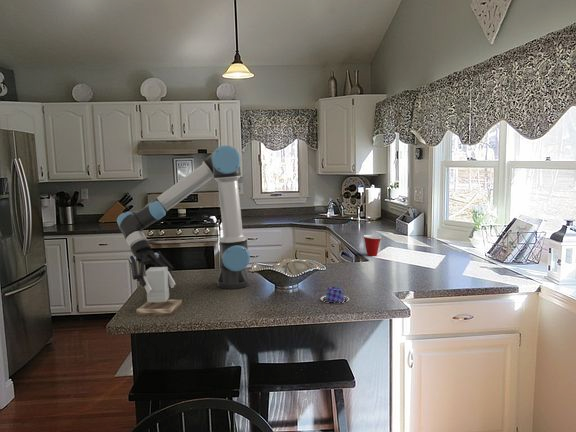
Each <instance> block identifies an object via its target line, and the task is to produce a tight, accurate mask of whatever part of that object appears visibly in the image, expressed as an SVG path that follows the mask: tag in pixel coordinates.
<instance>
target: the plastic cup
mask: <svg viewBox="0 0 576 432" xmlns="http://www.w3.org/2000/svg"><path fill="white" fill-rule="evenodd" d="M363 238H364V243H365V244H364V245H365V250H366V255H367V256H368V257H377V256H378V252H379V249H380V242H381V240H382V236H380V235H375V234H363Z"/></svg>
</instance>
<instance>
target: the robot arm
mask: <svg viewBox="0 0 576 432" xmlns="http://www.w3.org/2000/svg"><path fill="white" fill-rule="evenodd" d="M241 162H242V159H241V155H240V153H239V151H238V150H237V149H236V148H235V147H233V146H232V145H231V146H230V145H220V146H218V147H216V148H215V149H214V150H213V151H212V153H211V154H210V155H208V157H206V158H205V159H204V160H203V161H202V164H200V166H198V167H197V168H195V169H194V170H193V171H191V172H190V173H189V174H187V175H186V176H184V177H183V178H182V179H180V180H179V181H177V183H175V184H173V186H171V187H169V188H168V189H167V190H165V191H164V192H161V194H160V195H158V196H157V197H155V198H154V199H152V201H150V202H148V203H147V204H146V205H145V206H144V207H142V208H141V209H139V210H138V211H136V212H135V213H133V212H131V211H125V212H122V213H121V214H119V215H118V217H117V218H116V222H117V225H118V228H119V230H120V231H121V234H122V235H123V237H124V239H125V240H126V241H125V242H126V243H127V245H128V247H129V249H130V250H131V253H132V255H130V256H129V258H128V262H129V264H130V269H131V275H132V276H131V277H132V279H133V280H134V281H135V280H136V281H137V282H139V283H140V285H141V287H144V289H145V291H146V294H147V293H148V294H150V292H151V291H152V288H151V286H150V284H149V282H148V281H147V279H146V275H144V268H145V265H150V264H151V265H152V266H154V267H168V284H169V287H170V288H171V289H174V287H175V286H176V284H177V283H176V282H175V280H174V275H173V273H172V271H173V270H174V266H173V265H172V264H171V262H170V261H168V259H166V257H165V256H164V255H163V254H162V252H161V251H160V250H158V251H157V252H154V250H152V247H151V244H150V242H149V241H148V239H147V237H146V235H145V233H144V232H143V230H144V229H146V228H147V227H150V226H151V225H152V224H155V222H157V221H160V220H161V219H162V218H163V217H165V216H166V214H167V213H166V212H168V211H170V209H172V208H173V207H175V206H176V205H178V203H180V202H181V201H183V200H184V199H186V198H187V197H188V196H190V195H192V194H193V193H194V192H195V191H197V190H198V189H199V188H201V187H202V186H203V185H205V184H206V183H208V182H209V181H210V180H212V179H214V180H215V181H216V182H217V186H218V187H217V188H218V196H219V207H220V215H221V216H220V217H221V226H222V235H223V237H220V238H219V260H220V261H219V263H220V266H219V267H220V270H219V273H218V277H217V280H216V281H217V282H216V283H217V285H216V287H219V288H220V289H228V290H231V289H234V290H235V289H241V288H246V287H248V286H249V285H250V278H249V275H248V272H247V269H246V268H247V267H248V265H249V263H250V260H251V254H250V252H249V246H248V237H246V236H245V235H244V232H243V231H244V230H243V222H242V209H241V200H240V190H239V179H240V178H241V177H242V173H241ZM137 262H139V263H138V267H137Z"/></svg>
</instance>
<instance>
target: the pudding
mask: <svg viewBox="0 0 576 432" xmlns="http://www.w3.org/2000/svg"><path fill="white" fill-rule="evenodd" d="M324 297H326V298H325V299H326V300H325V301H329V302H334V303H335V302H339V303H340V301H343V302H342V303H344V301H345V300H344V299H345V298H344V297H347V298H348V300H347V301H346V302H349V301H350V298H349V297H348V296H346V295H344V292H343V288H341V287H340V286H330V287H328V288H327V290H326V295H323V296H321V297H320V299H319V300H321V301H322V302H324V303H329V302H325V301H323V298H324ZM342 303H341V304H342ZM329 304H330V303H329Z"/></svg>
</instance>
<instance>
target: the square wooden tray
mask: <svg viewBox="0 0 576 432" xmlns="http://www.w3.org/2000/svg"><path fill="white" fill-rule="evenodd" d="M182 301H183V299H167V301H166V302H147V301H146V302H145V303H143V304H142V305H140V306H139V307H138V308H136V310H135V311H136V312H135V316H172V315H173V314H174V313H175V312H176V311H178V310H179V308H181V307H182V306H183V305H184V303H183V302H182Z"/></svg>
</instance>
